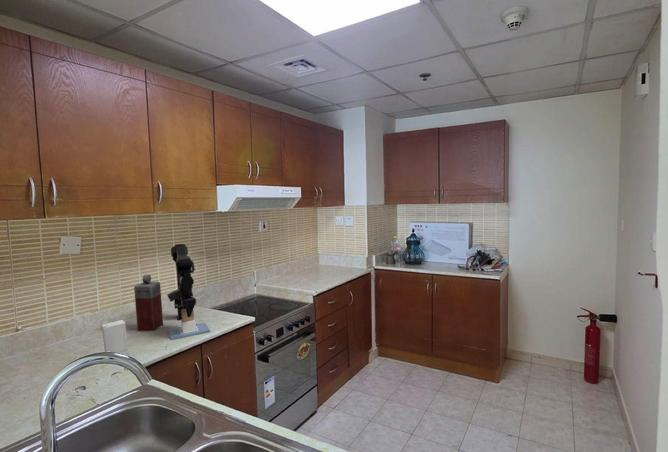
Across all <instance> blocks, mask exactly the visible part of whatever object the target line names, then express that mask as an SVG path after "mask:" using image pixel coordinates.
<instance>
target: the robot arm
mask: <svg viewBox="0 0 668 452" xmlns="http://www.w3.org/2000/svg"><path fill="white" fill-rule="evenodd" d="M188 254H189V249H188V246H187V245H186V244H185V243H176V244H174V245H173V246H172V247H171V248H170V256H171V258H172V260H173V261H174V263H175V270H176V280H177V281H176V283H177V289H175V290H173V291H171V292H169V293H167V294H166V297H167V298H168V300H169V302H171V303H172V302H173V305H174V309H177V315H176V319H177V320H178V321H181V319H182V315H181V310H183V309H186V312H187V316H188V317H190V316H191V314H192V311H194V308H195V306H196V304H197V299H196V298H195V297H194V293H193V285H194V282H195V280H194V278H193V276H192V274H193V273H195V270H196V267H195V264H194V262H193V260H192V259H191V256H188Z"/></svg>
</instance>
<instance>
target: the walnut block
mask: <svg viewBox="0 0 668 452" xmlns="http://www.w3.org/2000/svg"><path fill="white" fill-rule="evenodd" d="M181 315H182V321H183V322H188V321H193V320H194V319H195V313H194V310H193V311H192V314H191V316H190V317H188V316H187V312H186V309H183V310H181Z"/></svg>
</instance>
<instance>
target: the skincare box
mask: <svg viewBox="0 0 668 452" xmlns="http://www.w3.org/2000/svg"><path fill="white" fill-rule="evenodd" d="M101 332H102V333H101V334H102V340H103V341H102V342H103V346H104V347H103V348H104V353H105V352H107V351H110V352H119V353H123V354H127V355H128V356H129V347H128V346H129V345H128V344H129V343H128V337H127V336H128V335H127V327H126V322H125V321H124V320H123V319H119V320H115V321H112V322H107V323H103V324H101Z"/></svg>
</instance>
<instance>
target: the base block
mask: <svg viewBox="0 0 668 452" xmlns="http://www.w3.org/2000/svg"><path fill="white" fill-rule="evenodd" d="M196 324H197V323H196V320H195V318H194V320H193V321H188V322H183V321H182V319H180V327H181V330H182V332H183V333H185V332H190V331H195V330H196Z"/></svg>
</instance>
